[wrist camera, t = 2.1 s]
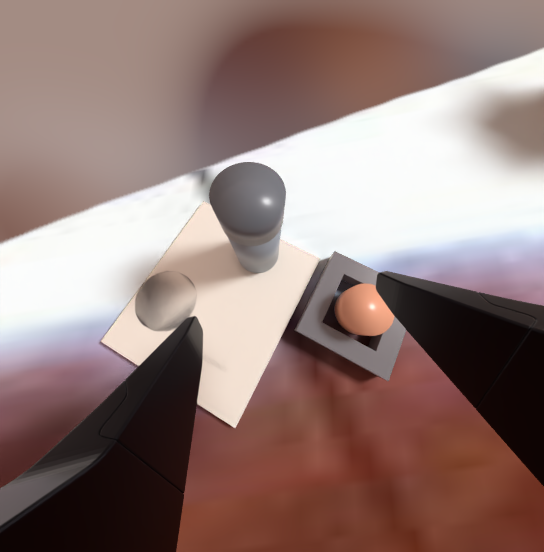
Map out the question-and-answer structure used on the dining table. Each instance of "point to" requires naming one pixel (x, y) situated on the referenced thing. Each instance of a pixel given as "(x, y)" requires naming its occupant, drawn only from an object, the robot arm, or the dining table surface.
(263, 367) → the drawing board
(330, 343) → the button housing
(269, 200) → the grey rounded cylinder
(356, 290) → the button
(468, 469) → the dining table surface
